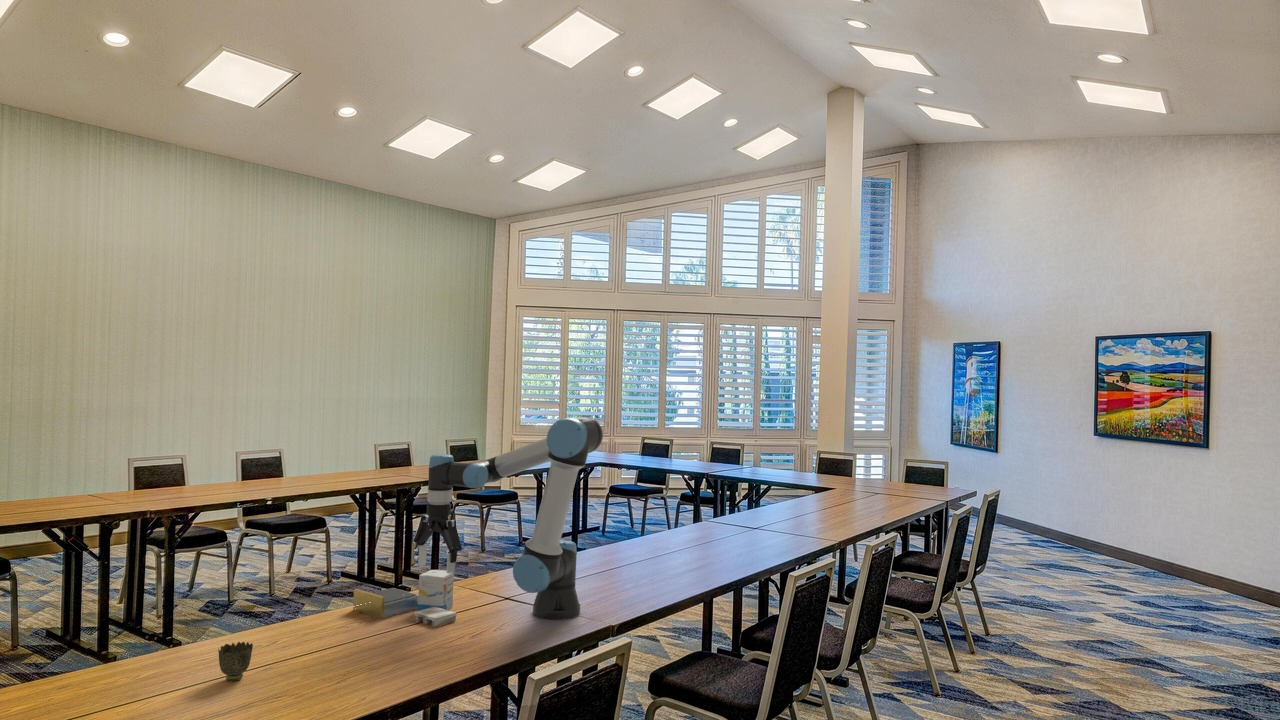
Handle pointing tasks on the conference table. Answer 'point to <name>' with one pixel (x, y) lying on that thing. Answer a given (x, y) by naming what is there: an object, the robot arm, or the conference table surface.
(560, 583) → the robot arm
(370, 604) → the dock
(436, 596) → the ink box
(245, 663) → the cup
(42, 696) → the conference table surface
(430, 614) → the block
